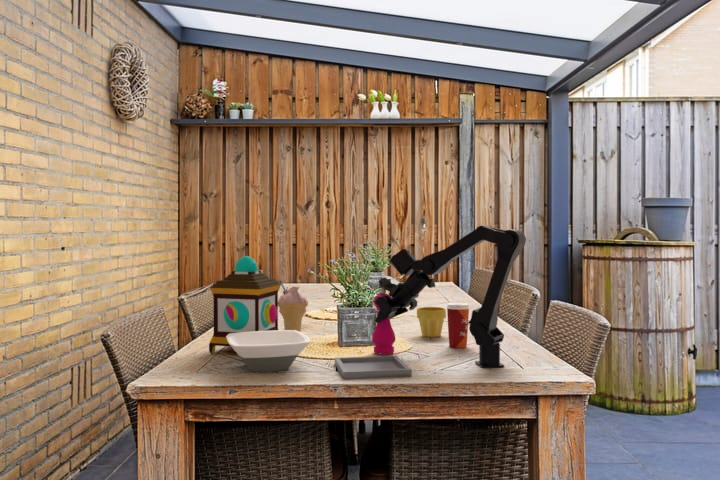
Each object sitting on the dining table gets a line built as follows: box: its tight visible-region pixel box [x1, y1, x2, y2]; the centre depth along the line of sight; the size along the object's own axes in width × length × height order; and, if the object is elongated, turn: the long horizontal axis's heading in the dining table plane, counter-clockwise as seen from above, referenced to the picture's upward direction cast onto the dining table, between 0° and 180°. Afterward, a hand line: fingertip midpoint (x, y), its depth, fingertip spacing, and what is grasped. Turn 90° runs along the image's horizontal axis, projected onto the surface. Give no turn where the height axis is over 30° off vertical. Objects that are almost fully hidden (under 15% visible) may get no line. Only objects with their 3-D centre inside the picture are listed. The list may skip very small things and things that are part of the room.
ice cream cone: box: [278, 280, 309, 332], centre depth 226 cm, size 11×11×20 cm
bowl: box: [226, 329, 311, 373], centre depth 177 cm, size 22×23×8 cm
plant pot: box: [416, 306, 447, 338], centre depth 227 cm, size 10×10×10 cm
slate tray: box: [334, 355, 413, 380], centre depth 174 cm, size 18×18×2 cm
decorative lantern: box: [208, 255, 282, 355], centre depth 200 cm, size 20×20×30 cm
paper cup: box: [445, 302, 471, 349], centre depth 207 cm, size 8×8×14 cm
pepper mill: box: [371, 288, 396, 355], centre depth 196 cm, size 7×7×20 cm
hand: (380, 320), depth 197 cm, fingers closed on pepper mill, 5 cm apart
